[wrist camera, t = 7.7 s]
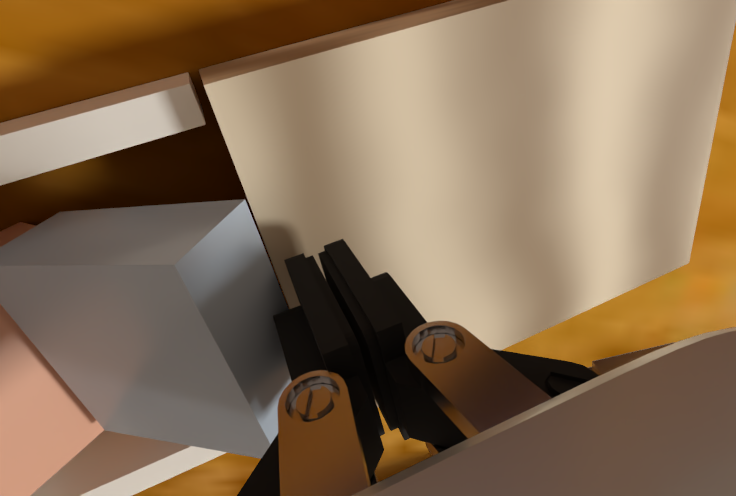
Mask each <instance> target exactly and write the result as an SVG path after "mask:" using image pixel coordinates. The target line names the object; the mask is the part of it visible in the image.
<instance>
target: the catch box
mask: <svg viewBox="0 0 736 496" xmlns="http://www.w3.org/2000/svg"><path fill="white" fill-rule="evenodd" d="M203 125H206V123H205V118H204V114H203V109H202V105H201V103H200V100H199V98H198V95H197V93H196V90H195V88H194V85H193V83H192V80H191V78H190V75H189V73H188V72H187V73H183V74H179V75H176V76H172V77H168V78H165V79H161V80H157V81H154V82H150V83H146V84H142V85H139V86H135V87H131V88H128V89H124V90H120V91H117V92H113V93H109V94H106V95H102V96H98V97H94V98H91V99H87V100H83V101H80V102H76V103H72V104H69V105H65V106H61V107H57V108H54V109H50V110H46V111H43V112H39V113H35V114H32V115H28V116H24V117H20V118H17V119H13V120H9V121H6V122H2V123H0V185H4V184H7V183H11V182H14V181H17V180H21V179H24V178H27V177H31V176H34V175H37V174H41V173H44V172H48V171H51V170H54V169H58V168H61V167H64V166H68V165H71V164H75V163H78V162H81V161H85V160H88V159H91V158H95V157H98V156H102V155H105V154H108V153H112V152H115V151H118V150H122V149H125V148H128V147H132V146H135V145H139V144H142V143H145V142H149V141H152V140H155V139H159V138H162V137H166V136H169V135H172V134H176V133H179V132H182V131H186V130H189V129H192V128H196V127H199V126H203ZM225 453H227V452H222V451H217V450H211V449H206V448H200V447H195V446H189V445H183V444H178V443H172V442H167V441H161V440H156V439H150V438H144V437H139V436H133V435H128V434H122V433H116V432H111V431H105V430H104V431H103V432H102V433H100V434H99V435H98V436H97V437H96V438H95V439H94V440H93V441H91V442H90V443H89V444H88V445H87V446H86V447H85V448H84V449H82V450H81V451H80V452H79V453H78V454H77V455H76V456H75V457H73V458H72V459H71V460H70V461H69V462H68V463H67V464H66V465H64V466H63V467H62V468H61V469H60V470H59V471H58V472H57V473H55V474H54V475H53V476H52V477H51V478H50V479H49V480H47V481H46V482H45V483H44V484H43V485H42V486H41V487H40V488H38V489H37V490H36V491H35V492H34V493H33V494H32V495H31V496H132V495H134V494H136V493H138V492H141V491H143V490H145V489H147V488H149V487H152V486H154V485H156V484H158V483H160V482H163V481H165V480H167V479H169V478H172V477H174V476H176V475H178V474H180V473H183V472H185V471H187V470H189V469H191V468H194V467H196V466H198V465H200V464H203V463H205V462H207V461H209V460H211V459H214V458H216V457H218V456H220V455H222V454H225Z"/></svg>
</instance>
